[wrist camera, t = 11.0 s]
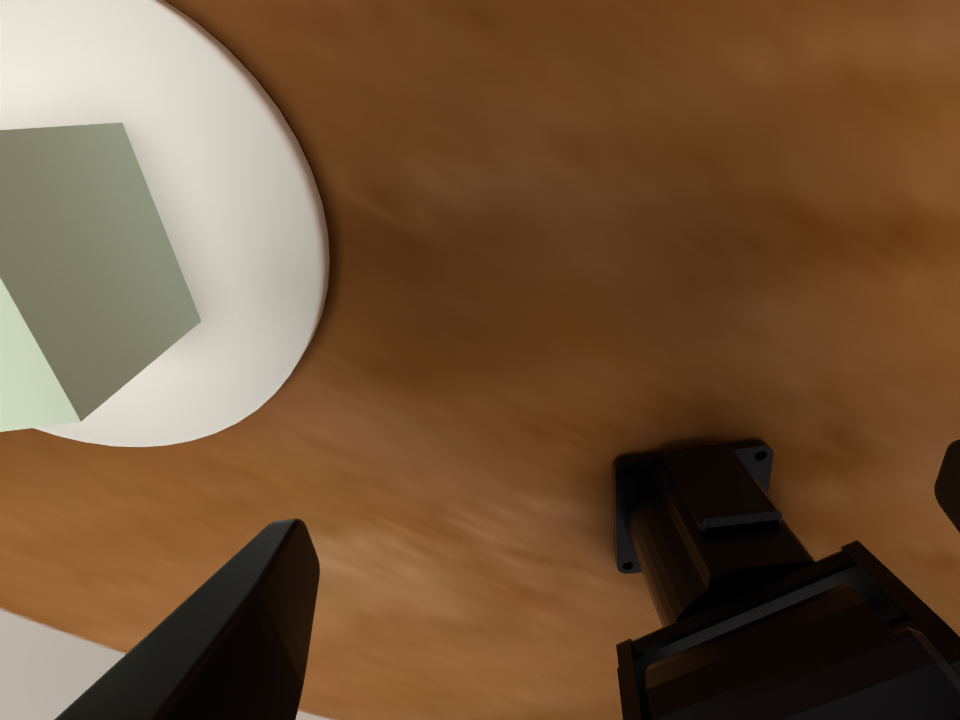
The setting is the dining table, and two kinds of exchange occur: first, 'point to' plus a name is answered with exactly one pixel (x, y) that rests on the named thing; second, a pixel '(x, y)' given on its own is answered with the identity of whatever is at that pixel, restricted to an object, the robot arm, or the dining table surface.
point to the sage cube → (80, 273)
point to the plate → (184, 200)
